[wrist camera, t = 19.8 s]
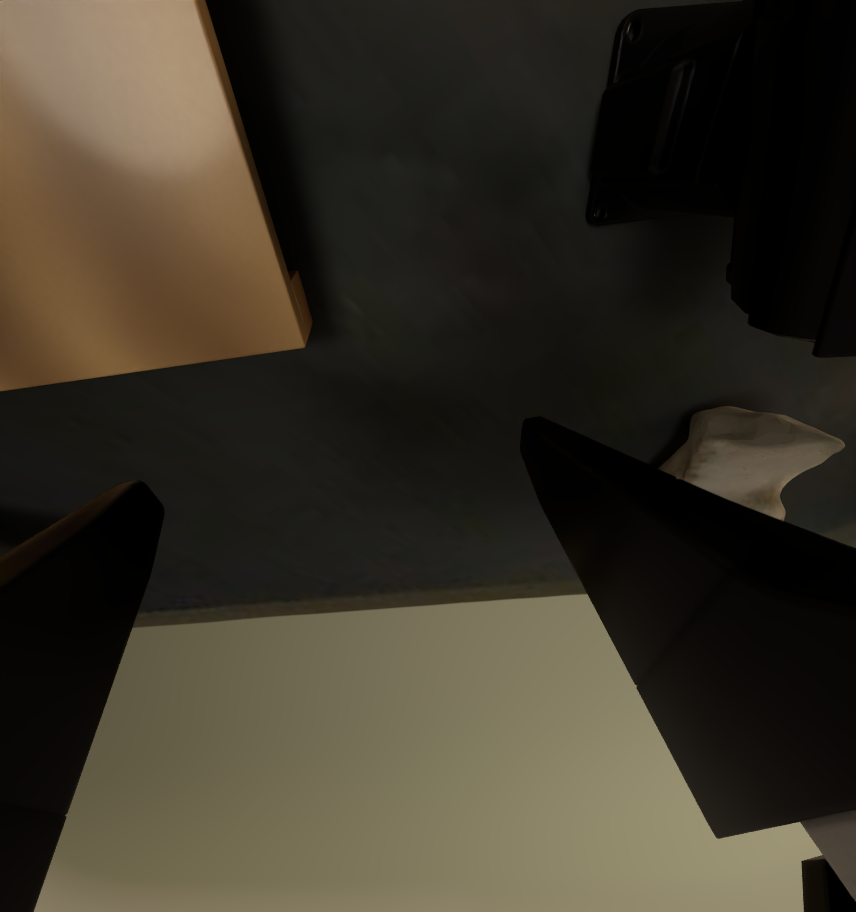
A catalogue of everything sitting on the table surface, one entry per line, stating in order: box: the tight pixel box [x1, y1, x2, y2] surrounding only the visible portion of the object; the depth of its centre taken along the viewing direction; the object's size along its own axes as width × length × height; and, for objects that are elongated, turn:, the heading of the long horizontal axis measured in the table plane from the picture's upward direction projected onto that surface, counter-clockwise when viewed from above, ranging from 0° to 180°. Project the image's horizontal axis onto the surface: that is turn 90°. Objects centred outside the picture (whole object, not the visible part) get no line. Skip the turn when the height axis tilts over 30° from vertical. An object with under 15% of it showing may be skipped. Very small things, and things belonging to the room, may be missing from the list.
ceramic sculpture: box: [658, 406, 845, 521], centre depth 26 cm, size 11×9×15 cm
